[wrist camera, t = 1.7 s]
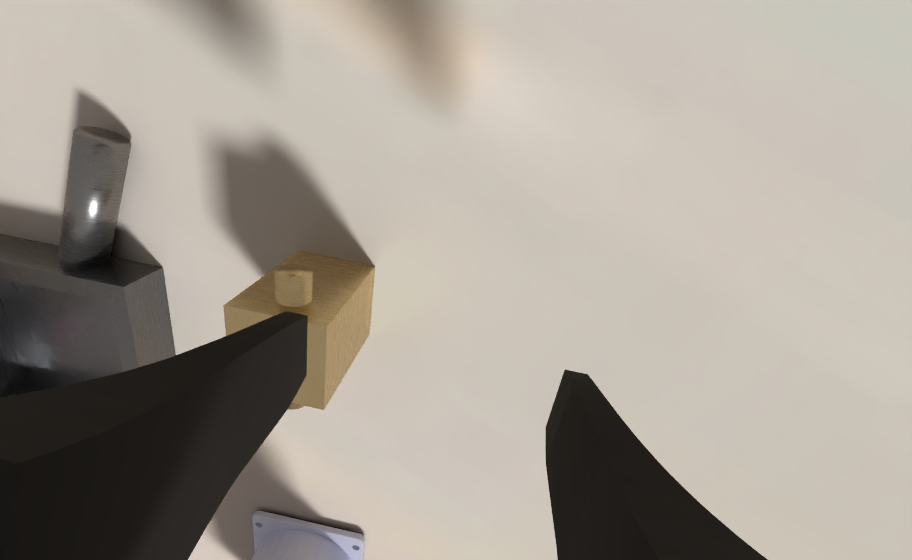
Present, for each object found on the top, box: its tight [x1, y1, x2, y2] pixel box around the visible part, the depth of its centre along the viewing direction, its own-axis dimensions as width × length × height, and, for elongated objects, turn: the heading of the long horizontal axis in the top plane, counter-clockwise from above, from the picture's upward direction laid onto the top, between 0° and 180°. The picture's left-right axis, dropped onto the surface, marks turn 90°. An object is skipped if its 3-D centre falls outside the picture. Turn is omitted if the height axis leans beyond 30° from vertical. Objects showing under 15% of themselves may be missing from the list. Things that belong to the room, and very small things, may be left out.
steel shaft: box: [58, 127, 131, 270], centre depth 20 cm, size 7×2×2 cm, turn 151°
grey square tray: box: [0, 235, 175, 397], centre depth 24 cm, size 11×11×2 cm
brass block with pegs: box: [224, 251, 375, 410], centre depth 19 cm, size 6×4×6 cm, turn 171°
